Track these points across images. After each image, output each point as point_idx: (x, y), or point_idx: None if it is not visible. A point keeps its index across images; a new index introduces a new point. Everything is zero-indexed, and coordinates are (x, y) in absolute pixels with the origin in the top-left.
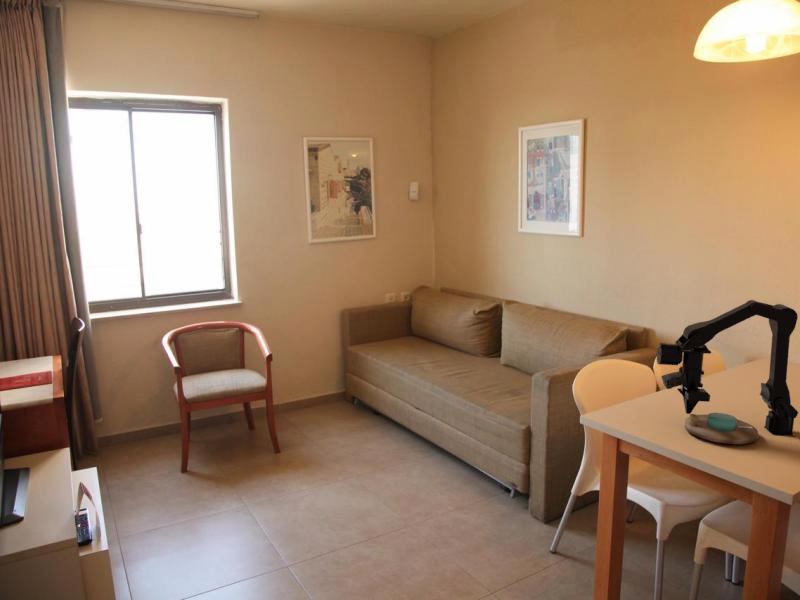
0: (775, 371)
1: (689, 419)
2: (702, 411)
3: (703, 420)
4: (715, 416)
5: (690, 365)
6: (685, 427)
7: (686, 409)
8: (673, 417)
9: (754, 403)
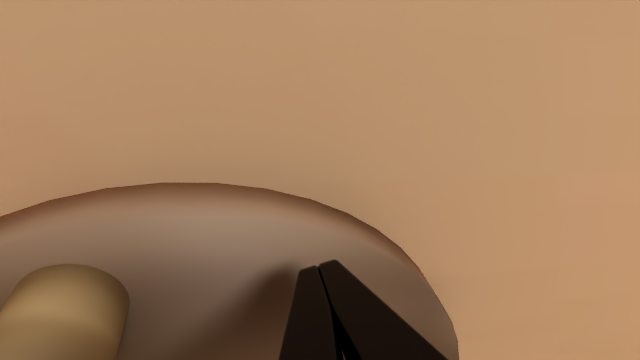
0: None
1: (8, 329)
2: (631, 254)
3: None
4: None
5: None
6: (70, 201)
7: (287, 325)
8: (513, 55)
9: None
